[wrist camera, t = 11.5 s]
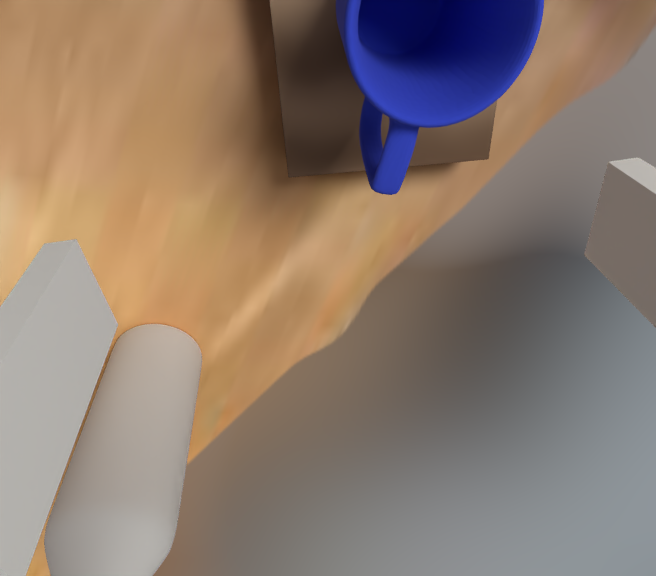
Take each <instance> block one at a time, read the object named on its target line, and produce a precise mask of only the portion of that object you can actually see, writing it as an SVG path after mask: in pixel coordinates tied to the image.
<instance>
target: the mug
mask: <svg viewBox="0 0 656 576" xmlns="http://www.w3.org/2000/svg"><path fill="white" fill-rule="evenodd" d="M543 8H544V0H336V17H337V23H338V28H339V31H340V35H341V39H342V42H343V46H344V50H345V53H346V57H347V61H348V64H349V67H350V70H351V73H352V75H353V77H354V80H355V82H356V83H357V85H358V87H359V89H360V90H361V92H362V93H363V94H364V96H365V98H364V102H363V106H362V111H361V117H360V126H359V139H360V147H361V153H362V158H363V163H364V166H365V170H366V174H367V177H368V181H369V184H370V186H371V188H372V189H373V190H374V191H375V192H378V193H381V194H388V195H392V194H396V193H397V192H398V191H399V189H400V187H401V185H402V182H403V180H404V177H405V175H406V172H407V169H408V166H409V163H410V160H411V157H412V154H413V150H414V147H415V143H416V139H417V135H418V130H419V127H424V128H434V127H443V126H448V125H452V124H456V123H459V122H462V121H464V120H467V119H469V118H471V117H473V116H475V115H477V114H478V113H480V112H482V111H483V110H485V109H486V108H487V107H489V106H490V105H491V104H493V103H494V102H495V101H496V100H497V99H498V98H500V97H501V96H502V95H503V94H504V93H505V92H506V91H507V89H508V88H509V87H510V86H511V85H512V84H513V82H514V81H515V80H516V78H517V77H518V76H519V74H520V73H521V71H522V70H523V68H524V66H525V64H526V63H527V61H528V59H529V57H530V55H531V53H532V50H533V48H534V45H535V43H536V40H537V37H538V34H539V30H540V26H541V21H542V16H543ZM382 114H385V115H386V116H388V117H389V129H388V134H387V137H386V141H385V144H384V147H383V146H382V140H381V121H382Z"/></svg>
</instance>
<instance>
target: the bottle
mask: <svg viewBox="0 0 656 576" xmlns="http://www.w3.org/2000/svg"><path fill="white" fill-rule="evenodd" d="M201 367H202V353H201V350H200V348H199V346H198V344H197V343H196V341H195V340H194V339H193V338H192V337H191V336H189V335H188V334H187V333H185V332H184V331H182V330H180V329H178V328H175V327H172V326H168V325H163V324H145V325H140V326H136V327H134V328H131V329H129V330H127V331H126V332H125V333H123V334H122V335H121V336H120V337H119V338H118V340H117V341H116V343H115V346H114V348H113V350H112V353H111V355H110V358H109V361H108V363H107V366H106V369H105V371H104V374H103V377H102V379H101V382H100V384H99V387H98V390H97V392H96V395H95V398H94V400H93V403H92V406H91V408H90V411H89V414H88V416H87V419H86V421H85V424H84V427H83V429H82V432H81V435H80V437H79V440H78V443H77V445H76V448H75V451H74V453H73V456H72V458H71V461H70V464H69V466H68V469H67V472H66V474H65V477H64V480H63V482H62V485H61V488H60V490H59V493H58V495H57V498H56V501H55V503H54V506H53V509H52V511H51V514H50V517H49V520H48V523H47V526H46V532H45V539H44V545H45V553H46V558H47V562H48V566H49V570H50V574H51V576H153V574H154V573H155V572H156V570H157V569H158V568H159V566H160V565H161V564H162V562H163V561H164V559H165V558H166V556H167V555H168V553H169V551H170V549H171V546H172V543H173V540H174V537H175V532H176V527H177V522H178V516H179V509H180V503H181V496H182V490H183V483H184V477H185V470H186V464H187V458H188V451H189V445H190V438H191V432H192V425H193V419H194V412H195V406H196V399H197V393H198V386H199V380H200V374H201Z"/></svg>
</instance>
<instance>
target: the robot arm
mask: <svg viewBox="0 0 656 576" xmlns="http://www.w3.org/2000/svg"><path fill="white" fill-rule="evenodd" d="M585 256H586V257H587V258H588V259H589V260H590V261H591V262H592V263H593V264H594V265H595V266H596V267H597V268H598V269H599V270H600V272H601V273H602V274H603V275H604V276H605V277H607V279H609V281H610V282H612V284H613V285H614V286H616V288H617V289H618V290H619V291H620V292H621V293H622V294H623V295H624V296H625V297H626V298H627V299H628V300H629V301H630V302H631V303H632V304H633V305H634V306H635V307H636V308H637V309H638V310H639V311H640V312H641V313H642V314H643V315H644V316H645V317H646V318H647V319H648V320H649V321H650V322H651V323H652V324H653V325H654V326H655V327H656V168H655V167H653V166H652V165H650V164H648V163H647V162H645V161H643V160H641V159H640V158H632V159H625V160H618V161H611V162H608V165H607V169H606V173H605V176H604V181H603V184H602V188H601V192H600V196H599V200H598V204H597V208H596V211H595V215H594V219H593V223H592V227H591V231H590V235H589V239H588V242H587V247H586V250H585ZM117 326H118V323H117V321H116V319H115V317H114V315H113V313H112V311H111V309H110V307H109V305H108V303H107V301H106V299H105V297H104V295H103V293H102V291H101V289H100V287H99V285H98V283H97V281H96V278H95V276H94V274H93V272H92V270H91V268H90V266H89V264H88V262H87V260H86V258H85V256H84V254H83V252H82V250H81V248H80V246H79V244H78V242H77V240H76V239H74V240H67V241H60V242H53V243H46V244H44V245H43V246H42V248H41V249H40V251H39V252H38V254H37V255H36V256H35V258H34V259H33V261H32V262H31V264H30V265H29V267H28V268H27V269H26V271H25V272H24V274H23V275H22V277H21V278H20V279H19V281H18V282H17V284H16V285H15V287H14V288H13V289H12V291H11V292H10V294H9V295H8V297H7V298H6V300H5V301H4V302H3V304H2V305H1V307H0V576H26V573H27V570H28V568H29V565H30V562H31V560H32V557H33V554H34V551H35V549H36V546H37V543H38V541H39V538H40V535H41V532H42V530H43V527H44V524H45V522H46V519H47V516H48V513H49V511H50V508H51V505H52V503H53V500H54V497H55V494H56V492H57V489H58V486H59V484H60V481H61V478H62V475H63V473H64V470H65V467H66V465H67V462H68V459H69V456H70V454H71V451H72V448H73V446H74V443H75V440H76V437H77V435H78V432H79V429H80V427H81V424H82V421H83V418H84V416H85V413H86V410H87V408H88V405H89V402H90V399H91V397H92V394H93V391H94V389H95V386H96V383H97V380H98V378H99V375H100V372H101V370H102V367H103V364H104V361H105V359H106V356H107V353H108V351H109V348H110V345H111V342H112V340H113V337H114V334H115V332H116V329H117Z"/></svg>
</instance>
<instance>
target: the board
mask: <svg viewBox="0 0 656 576" xmlns="http://www.w3.org/2000/svg"><path fill="white" fill-rule="evenodd" d="M270 8H271V18H272V27H273V36H274V46H275V55H276V64H277V74H278V83H279V92H280V102H281V111H282V120H283V130H284V139H285V148H286V158H287V167H288V176H289V177H299V176H310V175H321V174H332V173H343V172H354V171H365V166H364V163H363V158H362V153H361V147H360V139H359V126H360V117H361V111H362V106H363V102H364V98H365V96H364V94H363V93H362V92H361V90H360V89H359V87H358V85H357V83H356V82H355V80H354V77H353V75H352V73H351V70H350V67H349V64H348V61H347V57H346V53H345V50H344V46H343V42H342V39H341V35H340V31H339V28H338V23H337V17H336V0H270ZM496 104H497V100H496V101H495V102H494V103H493V104H491V105H490V106H489V107H487V108H486V109H485V110H483V111H482V112H480V113H478V114H477V115H475V116H473V117H471V118H469V119H467V120H464V121H462V122H459V123H456V124H452V125H448V126H443V127H434V128H424V127H419V130H418V135H417V139H416V143H415V147H414V150H413V154H412V157H411V160H410V163H409V166H420V165H431V164H442V163H453V162H464V161H474V160H485V159H488V158H489V151H490V144H491V138H492V131H493V124H494V117H495V110H496ZM388 129H389V117H388V116H386V115H385V114H382V121H381V140H382V146H383V147H384V144H385V141H386V137H387V134H388ZM409 166H408V167H409Z"/></svg>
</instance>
